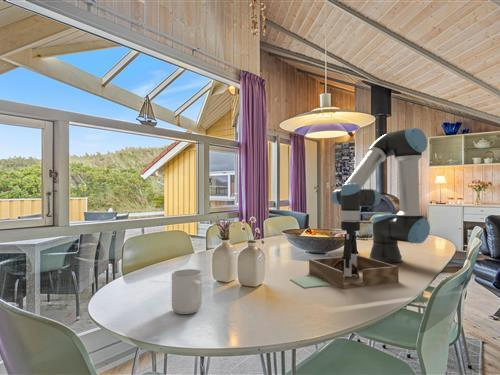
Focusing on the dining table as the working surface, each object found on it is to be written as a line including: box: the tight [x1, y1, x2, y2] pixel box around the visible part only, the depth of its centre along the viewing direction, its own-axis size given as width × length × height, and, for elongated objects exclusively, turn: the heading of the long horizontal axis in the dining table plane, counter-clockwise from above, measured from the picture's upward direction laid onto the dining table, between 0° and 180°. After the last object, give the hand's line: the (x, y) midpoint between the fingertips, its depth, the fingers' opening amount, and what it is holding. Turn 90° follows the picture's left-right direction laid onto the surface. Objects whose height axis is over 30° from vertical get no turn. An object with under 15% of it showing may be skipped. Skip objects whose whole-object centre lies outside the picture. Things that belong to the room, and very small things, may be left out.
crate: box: [308, 254, 400, 290], centre depth 130 cm, size 26×24×6 cm
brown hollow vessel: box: [334, 259, 360, 279], centre depth 130 cm, size 12×9×8 cm
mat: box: [289, 275, 331, 289], centre depth 123 cm, size 11×12×1 cm
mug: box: [171, 268, 203, 315], centre depth 94 cm, size 12×9×11 cm
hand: (350, 272), depth 129 cm, fingers open, 13 cm apart
